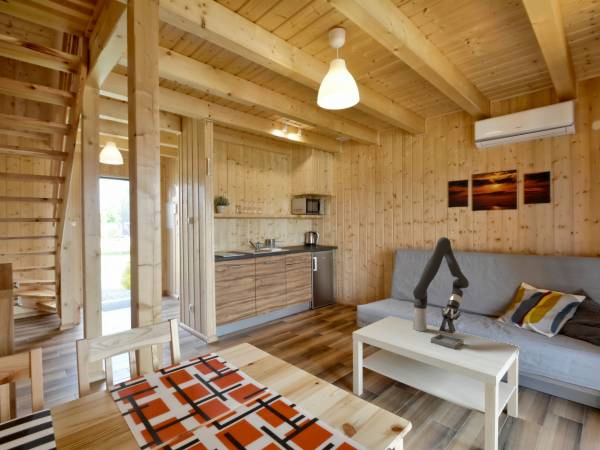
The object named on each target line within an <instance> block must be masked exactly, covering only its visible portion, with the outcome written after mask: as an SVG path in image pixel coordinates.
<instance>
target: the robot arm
mask: <svg viewBox="0 0 600 450" xmlns="http://www.w3.org/2000/svg"><path fill="white" fill-rule="evenodd" d="M444 258H445V262H446V265H447V267H448V270H449V272H450V274H451V276H452V277H453V278H456V279H454V280H453V282H452V291H451V294H450V296H449V299H448V301H447V304H446V307H445V308H441V309H440V310H441V311H440V312H441V316H442V317H443V315H444V314H446V313H447V314H448V313H450V314H451V318H450V322H451V324H452V323H453V324H454V320H455V321H456V320H458V319H459V318H460V317H461V316H462V312H461V311H459V309H460V305H461V303H462V298H463V295H464V291H463V290H462V289H467V288H469V286H470V282H469V280H468V278H467V277H466V276H465V274H464V272H462V270H461V268H460V265H459V263H458V261H457V258H456V257H455V254H454V252H453V250H452V244H451V240H450V238H448V237H445V236H442V237H439V239H437V243H436V246H435V249H434V251H433V254H432V255H431V256H430V257H429V259H428V260H427V262H426V264H425V267H424V268H423V270H422V274H421V276H420V279H419V281H418V282H417V284H416V286H415V287H414V289H413V291H412V295H413V297H414V303H413V316H412V329H413V330H414V331H418V332H427V330H428V326H427V325H428V315H427V314H428V311H427V310H428V308H427V306H428V288H429V287H430V285H431V283H432V281H433V280H434V279H435V278H436V276H437V274H438V272H439V269H440V267H441V264H442V262H443V259H444Z"/></svg>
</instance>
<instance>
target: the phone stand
mask: <svg viewBox="0 0 600 450" xmlns="http://www.w3.org/2000/svg"><path fill="white" fill-rule="evenodd" d="M445 313H446V312H445ZM445 313H444V315H443V316H442V317H443V318H442V322H441V325H440V327H439V330H438V331H439V332H442V333H448V334H451V335H453V334H455V332H457V331H456V330H457V329H456V327H455V325H454V322H453V323H452V324H451V322H450V318H451V314H450V313H448V314H447V313H446V314H445ZM446 326H448V329H447V328H446Z"/></svg>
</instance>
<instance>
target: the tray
mask: <svg viewBox="0 0 600 450" xmlns="http://www.w3.org/2000/svg"><path fill="white" fill-rule="evenodd" d="M430 343H431V344H434V345H438V346H441V347H445V348H448V349H452V350H456V349H458V348H459V347H461V346H463V345H464V339H463V338H459V337H454V336H452V335H447V334H444V333H438V334H435V335H434V336H432V337H431V338H430Z"/></svg>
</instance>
